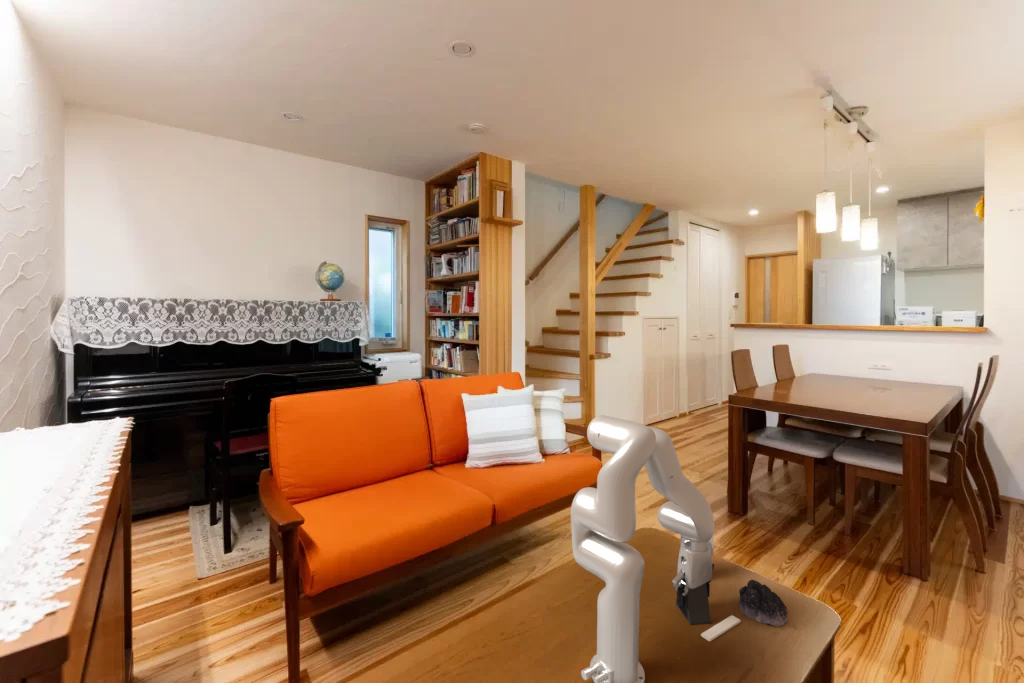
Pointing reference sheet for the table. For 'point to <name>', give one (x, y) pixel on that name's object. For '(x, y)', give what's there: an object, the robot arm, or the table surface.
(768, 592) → the black rock
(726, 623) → the cream panel
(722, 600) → the table surface
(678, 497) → the robot arm
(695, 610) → the phone stand
